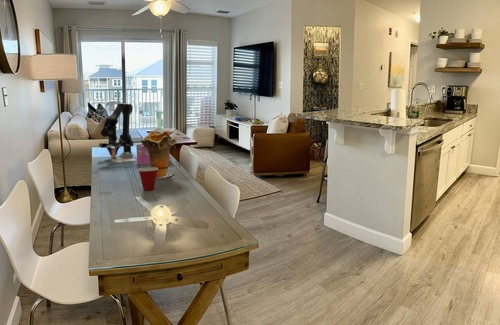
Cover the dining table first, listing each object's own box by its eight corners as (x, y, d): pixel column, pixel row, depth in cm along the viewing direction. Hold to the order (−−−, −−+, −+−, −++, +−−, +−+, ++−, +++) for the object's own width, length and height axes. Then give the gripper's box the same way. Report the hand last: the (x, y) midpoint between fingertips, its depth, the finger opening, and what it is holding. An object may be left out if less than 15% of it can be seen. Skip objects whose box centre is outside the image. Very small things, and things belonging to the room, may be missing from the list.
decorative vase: (142, 180, 234) (141, 133, 230) (142, 173, 256) (140, 130, 252) (178, 179, 240) (177, 132, 235) (175, 172, 262) (174, 129, 257)
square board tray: (108, 160, 292) (107, 155, 291) (129, 157, 302) (129, 152, 301) (115, 163, 280) (115, 158, 279) (137, 161, 290) (137, 156, 289)
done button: (123, 156, 297) (123, 152, 297) (128, 155, 300) (128, 151, 299) (125, 156, 295) (125, 153, 294) (130, 156, 297) (129, 152, 296)
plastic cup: (156, 185, 225) (156, 165, 223) (160, 190, 216) (159, 169, 213) (137, 187, 221) (136, 166, 219) (140, 192, 211) (139, 171, 209)
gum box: (165, 159, 298) (165, 141, 295) (171, 160, 292) (171, 142, 289) (136, 163, 282) (135, 144, 279) (142, 165, 276) (141, 146, 273)
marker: (110, 158, 297) (110, 148, 295) (115, 158, 299) (114, 147, 297) (112, 159, 294) (111, 148, 293) (116, 158, 296) (116, 148, 295)
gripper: (103, 137, 281) (104, 159, 284) (128, 135, 293) (129, 156, 296) (98, 135, 290) (99, 156, 293) (123, 133, 301) (124, 153, 304)
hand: (113, 155), depth 296 cm, fingers closed on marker, 3 cm apart
